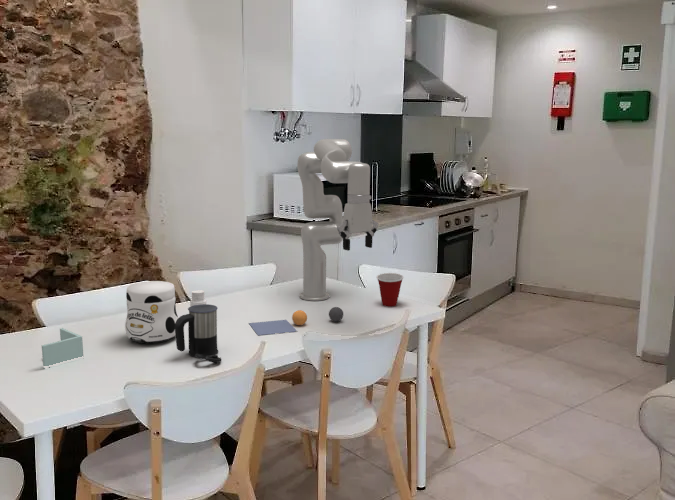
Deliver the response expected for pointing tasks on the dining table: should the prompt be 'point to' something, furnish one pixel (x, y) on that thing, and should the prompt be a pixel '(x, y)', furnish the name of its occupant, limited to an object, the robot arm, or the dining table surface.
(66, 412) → the dining table surface
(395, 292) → the plastic cup
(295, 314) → the orange ball
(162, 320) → the milk container
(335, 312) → the gray ball
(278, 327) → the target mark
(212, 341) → the milk frother
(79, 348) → the right angle wall
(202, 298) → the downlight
